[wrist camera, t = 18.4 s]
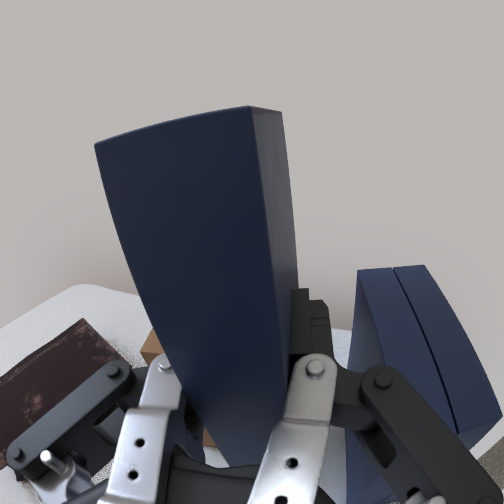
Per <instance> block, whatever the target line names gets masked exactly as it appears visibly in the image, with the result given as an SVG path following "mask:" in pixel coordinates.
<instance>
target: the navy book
mask: <svg viewBox="0 0 504 504" xmlns="http://www.w3.org/2000/svg"><path fill="white" fill-rule="evenodd" d="M94 148H95V153H96V157H97V162H98V166H99V170H100V174H101V178H102V182H103V186H104V190H105V194H106V197H107V201H108V204H109V208H110V212H111V215H112V218H113V222H114V225H115V228H116V231H117V234H118V237H119V241H120V244H121V247H122V249H123V252H124V255H125V258H126V261H127V264H128V267H129V269H130V272H131V275H132V277H133V280H134V283H135V285H136V288H137V290H138V293H139V296H140V298H141V300H142V303H143V305H144V308H145V310H146V313H147V315H148V317H149V320H150V322H151V324H152V326H153V329H154V331H155V333H156V335H157V338H158V340H159V342H160V344H161V346H162V348H163V350H164V353H165V355H166V357H167V359H168V361H169V363H170V365H171V367H172V369H173V371H174V373H175V375H176V377H177V379H178V381H179V382H180V384H181V386H182V388H183V390H184V392H185V394H186V395H187V397H188V399H189V401H190V403H191V405H192V406H193V408H194V410H195V412H196V413H197V415H198V417H199V418H200V420H201V422H202V424H203V425H204V427H205V428H206V430H207V432H208V433H209V435H210V437H211V438H212V440H213V441H214V443H215V445H216V446H217V448H218V449H219V451H220V452H221V454H222V455H223V457H224V458H225V460H226V461H227V463H228V464H229V466H230V467H236V466H244V465H251V464H256V465H261V463H262V460H263V457H264V454H265V451H266V448H267V445H268V441H269V438H270V435H271V432H272V429H273V426H274V423H275V421H276V419H277V418H280V416H281V413H282V410H283V406H284V402H285V399H286V395H287V391H288V388H289V384H290V380H291V371H290V357H289V349H290V327H291V298H292V289H299V286H298V271H297V258H296V257H297V256H296V243H295V231H294V220H293V208H292V198H291V188H290V178H289V169H288V160H287V151H286V143H285V134H284V126H283V119H282V112H280V111H274V110H270V109H264V108H259V107H253V106H241V107H235V108H229V109H223V110H217V111H212V112H207V113H202V114H197V115H192V116H187V117H183V118H179V119H174V120H170V121H166V122H162V123H158V124H154V125H151V126H147V127H144V128H140V129H137V130H133V131H130V132H127V133H123V134H121V135H117V136H114V137H111V138H108V139H105V140H102V141H99V142H97V143H95V145H94Z"/></svg>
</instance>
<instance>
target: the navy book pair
mask: <svg viewBox="0 0 504 504" xmlns="http://www.w3.org/2000/svg"><path fill="white" fill-rule="evenodd" d="M378 365H386V366H391V367H393V368H395V369H397V370H398V371H399V372H400V373H401V374H402V375H403V376H404V377H405V379H406V380H407V381H408V382H409V383H410V384H411V385H412V386H413V387H414V389H415V390H416V391H417V392H418V393H419V394H420V395H421V396H422V398H423V399H424V400H425V401H426V402H427V403H428V404H429V405H430V407H431V408H432V409H433V410H434V411H435V412H436V413H437V415H438V416H439V417H440V418H441V419H442V420H443V421H444V423H445V424H446V425H447V426H448V427H449V428H450V429H451V431H452V432H453V433H454V434H455V435H456V436H457V438H458V439H459V440H460V441H461V442H462V443H463V445H464V446H465V447H466V448H467V449H468V451H469V450H470V449H471V448H472V447H473V446H474V445H475V444H477V443H478V442H479V441H480V440H481V439H482V438H483V437H484V436H485V435H486V434H487V433H488V432H489V431H490V430H491V429H492V428H493V426H494V425H495V424H496V423H497V422H498V421H499V420H500V419H501V418H502V416H503V415H502V412H501V409H500V406H499V404H498V401H497V399H496V396H495V394H494V391H493V389H492V386H491V384H490V382H489V380H488V378H487V375H486V373H485V371H484V368H483V366H482V364H481V362H480V360H479V358H478V356H477V354H476V352H475V350H474V348H473V346H472V344H471V342H470V340H469V338H468V336H467V334H466V333H465V331H464V329H463V327H462V325H461V323H460V322H459V320H458V318H457V317H456V315H455V313H454V311H453V309H452V308H451V306H450V304H449V303H448V301H447V300H446V298H445V296H444V295H443V293H442V291H441V290H440V288H439V287H438V285H437V283H436V282H435V280H434V279H433V277H432V276H431V274H430V273H429V271H428V270H427V268H426V267H425V265H414V266H403V267H394V268H393V269H392V268H377V269H364V270H357V284H356V297H355V309H354V319H353V328H352V337H351V345H350V352H349V359H348V366H347V370H350V371H355V372H360V373H365V372H366V371H367V370H368V369H370V368H372V367H374V366H378ZM345 441H346V470H347V504H385V503H390V502H395V501H398V499H397V498H396V497H395V495H394V494H393V492H392V491H391V489H390V488H389V486H388V485H387V483H386V482H385V480H384V479H383V477H382V476H381V474H380V473H379V471H378V470H377V468H376V467H375V465H374V464H373V462H372V461H371V459H370V458H369V456H368V455H367V453H366V452H365V450H364V449H363V447H362V446H361V444H360V443H359V441H358V440H357V438H356V437H355V435H354V434H353V432H352V431H351V429H346V428H345Z"/></svg>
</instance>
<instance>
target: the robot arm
mask: <svg viewBox="0 0 504 504" xmlns="http://www.w3.org/2000/svg"><path fill="white" fill-rule="evenodd" d="M289 357H290V371H291V380H290V384H289V388H288V391H287V395H286V399H285V402H284V406H283V410H282V413H281V416H280V418H277V419H276V421H275V423H274V426H273V429H272V432H271V435H270V438H269V441H268V445H267V448H266V451H265V454H264V457H263V460H262V463H261V465H256V464H251V465H244V466H236V467H227V468H215V467H212V466H209V465H207V464H205V454H204V450H203V432H204V425H203V424H202V422H201V420H200V418H199V417H198V415H197V413H196V412H195V410H194V408H193V406H192V405H191V403H190V401H189V399H188V397H187V395H186V394H185V392H184V390H183V388H182V386H181V384H180V382H179V381H178V379H177V377H176V375H175V373H174V371H173V369H172V367H171V365H170V363H169V361H168V359H167V357H166V355H165V353H162V354H160V355H158V356H157V357H156V358H155V359H154V360H153V361H152V362H151V364H150V366H147V367H141V368H134V369H131V367H130V366H129V364H128V363H127V362H126V361H124V360H113V361H110V362H108V363H107V364H105V365H104V366H103V367H101V368H100V369H99V370H98V371H97V372H95V373H94V374H93V375H92V376H91V377H89V378H88V379H87V380H86V381H85V382H83V383H82V384H81V385H80V386H79V387H77V388H76V389H75V390H74V391H73V392H71V393H70V394H69V395H68V396H67V397H65V398H64V399H63V400H62V401H61V402H59V403H58V404H57V405H56V406H55V407H53V408H52V409H51V410H50V411H49V412H47V413H46V414H45V415H44V416H43V417H42V418H40V419H39V420H38V421H37V422H36V423H34V424H33V425H32V426H31V427H30V428H28V429H27V430H26V431H25V432H24V433H23V434H21V435H20V436H19V437H18V438H17V439H15V440H14V441H13V442H12V443H11V444H10V445H9V447H8V449H7V453H6V459H7V462H8V464H9V466H10V467H11V468H13V469H14V470H15V471H17V472H18V473H20V474H21V475H23V476H24V477H25V478H26V479H27V480H29V481H30V483H31V484H32V486H33V488H34V490H35V491H36V493H37V495H38V496H39V498H40V499H41V501H42V503H43V504H336V503H335V502H334V501H333V500H332V499H331V498H330V497H329V496H328V495H327V494H326V492H325V491H324V490H323V489H322V488H320V487H319V486H318V483H319V479H320V474H321V470H322V465H323V460H324V455H325V450H326V445H327V439H328V433H329V427H330V425H333V426H337V427H342V428H346V429H351V431H352V432H353V434H354V435H355V437H356V438H357V440H358V441H359V443H360V444H361V446H362V447H363V449H364V450H365V452H366V453H367V455H368V456H369V458H370V459H371V461H372V462H373V464H374V465H375V467H376V468H377V470H378V471H379V473H380V474H381V476H382V477H383V479H384V480H385V482H386V483H387V485H388V486H389V488H390V489H391V491H392V492H393V494H394V495H395V497H396V498H397V499H398V501H399V502H400V504H503V502H504V498H503V494H502V491H501V490H500V488H499V487H498V486H497V485H496V483H495V482H494V481H493V480H492V478H491V477H490V476H489V475H488V473H487V472H486V471H485V470H484V469H483V467H482V466H481V465H480V464H479V463H478V461H477V460H476V459H475V458H474V457H473V455H472V454H471V453H470V452H469V451H468V449H467V448H466V447H465V446H464V445H463V443H462V442H461V441H460V440H459V439H458V438H457V436H456V435H455V434H454V433H453V432H452V431H451V429H450V428H449V427H448V426H447V425H446V424H445V423H444V421H443V420H442V419H441V418H440V417H439V416H438V415H437V413H436V412H435V411H434V410H433V409H432V408H431V407H430V405H429V404H428V403H427V402H426V401H425V400H424V399H423V398H422V396H421V395H420V394H419V393H418V392H417V391H416V390H415V389H414V387H413V386H412V385H411V384H410V383H409V382H408V381H407V380H406V379H405V377H404V376H403V375H402V374H401V373H400V372H399V371H398V370H397V369H395V368H393V367H391V366H386V365H378V366H374V367H372V368H370V369H368V370H367V371H366V372H365V373H360V372H355V371H350V370H347V369H345V368H343V367H342V366H340V365H339V364H338V363H337V361H336V360H335V358H334V353H333V344H332V335H331V326H330V319H329V310H328V307H327V305H326V304H325V303H324V302H323V300H309V289H308V288H300V289H292V298H291V327H290V349H289ZM115 403H116V404H117V405H118V406H119V407H118V408H117V409H116V410H115V411H114V412H113V413H112V414H110V415H109V416H108V417H107V418H106V419H105V420H104V421H103V422H102V423H100V424H99V425H96V426H93V424H94V422H95V421H96V420H97V419H98V418H99V417H100V416H101V415H102V414H103V413H105V412H106V411H107V410H108V409H109V408H110V407H111V406H112V405H113V404H115ZM113 458H114V459H113ZM112 459H113V463H112V467H111V471H110V476H109V478H107V479H105V480H103V481H102V482H100V483H98V484H97V485H95V486H94V483H93V481H91V478H92V477H93V476H94V475H95V474H96V473H97V472H99V471H100V470H101V469H102V468H103V467H104V466H105V465H106V464H107V463H108V462H110V461H111V460H112Z"/></svg>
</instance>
